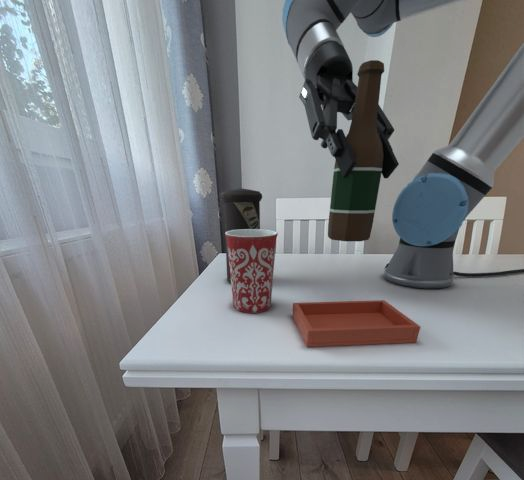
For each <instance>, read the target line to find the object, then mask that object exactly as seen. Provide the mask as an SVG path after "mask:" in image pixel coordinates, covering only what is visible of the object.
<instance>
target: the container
mask: <svg viewBox="0 0 524 480" xmlns="http://www.w3.org/2000/svg"><path fill="white" fill-rule="evenodd" d="M219 197H220V200H221V201H222V202H223V213H224V214H223V215H224V237H225V258H226V259H225V260H226V281H227V282H228V283H230V284H231V277H230V267H229V258H228V247H227V238H226V235H225V233H226V232H227V231H231V230H239V229H261V220H260V219H261V205H260V203H261V201H262V199H263V194H262V192H260V191H259V190H254V189H250V188H249V189H248V188H235V189H229V190H224V191H222V192H221V193H220V195H219Z"/></svg>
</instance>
